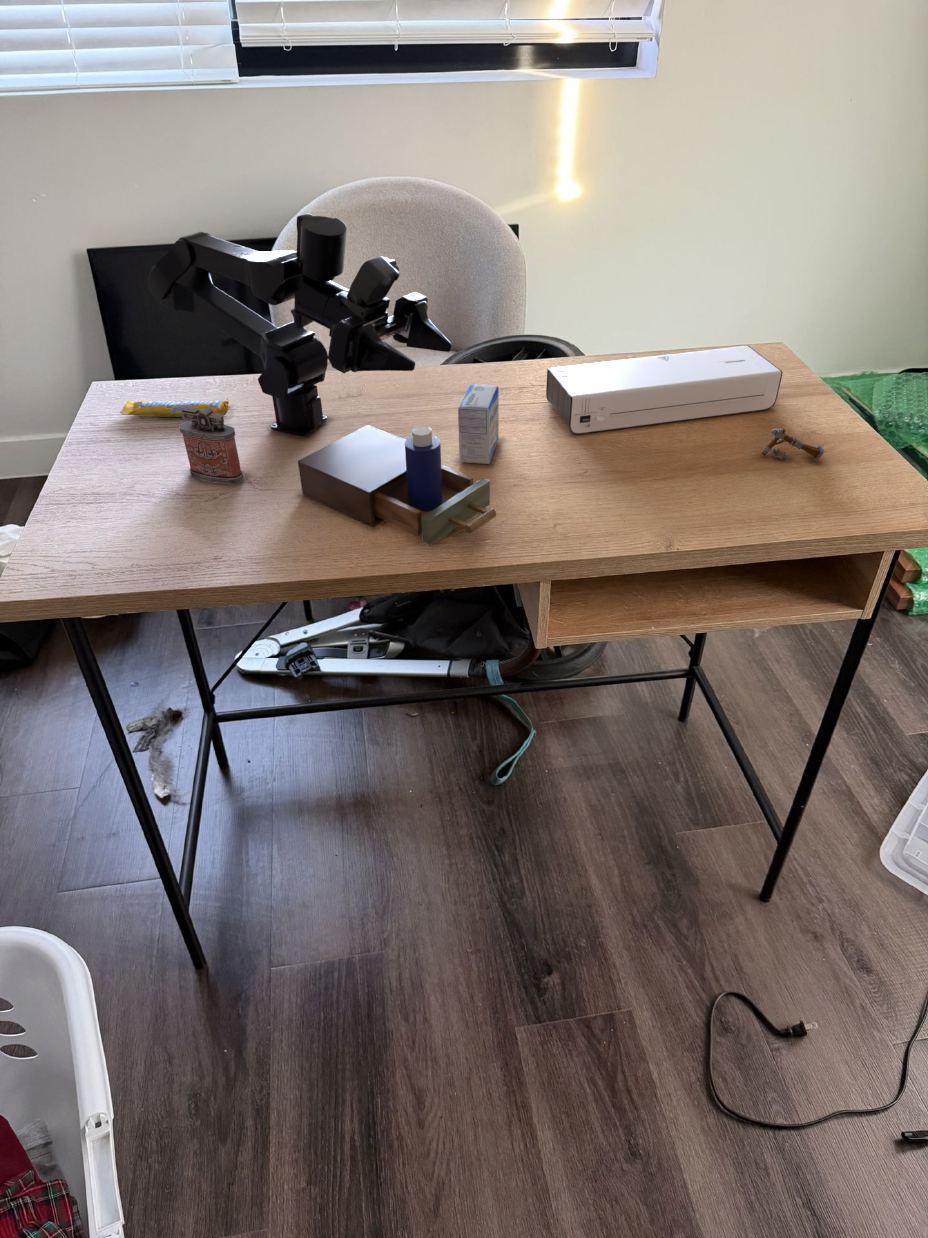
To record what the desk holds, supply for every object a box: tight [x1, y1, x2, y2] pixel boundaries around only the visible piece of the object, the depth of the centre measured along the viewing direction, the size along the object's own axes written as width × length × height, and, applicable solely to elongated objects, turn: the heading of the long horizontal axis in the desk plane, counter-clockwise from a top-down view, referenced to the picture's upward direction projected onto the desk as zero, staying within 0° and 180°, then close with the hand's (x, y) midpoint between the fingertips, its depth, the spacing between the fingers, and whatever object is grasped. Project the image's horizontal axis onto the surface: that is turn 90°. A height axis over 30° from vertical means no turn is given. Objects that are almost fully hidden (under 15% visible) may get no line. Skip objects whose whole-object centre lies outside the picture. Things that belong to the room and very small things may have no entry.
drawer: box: [373, 464, 497, 546], centre depth 110 cm, size 16×12×4 cm
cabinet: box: [297, 424, 407, 529], centre depth 115 cm, size 13×13×5 cm
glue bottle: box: [405, 426, 442, 512], centre depth 108 cm, size 4×4×10 cm
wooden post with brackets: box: [761, 427, 825, 463], centre depth 121 cm, size 2×8×4 cm, turn 86°
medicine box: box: [457, 383, 500, 465], centre depth 122 cm, size 8×4×9 cm, turn 168°
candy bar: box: [119, 397, 230, 418], centre depth 136 cm, size 17×4×2 cm, turn 91°
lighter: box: [178, 407, 245, 485], centre depth 117 cm, size 8×3×10 cm, turn 71°
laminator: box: [545, 345, 783, 436], centre depth 133 cm, size 34×12×6 cm, turn 104°
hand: (433, 357), depth 111 cm, fingers open, 9 cm apart
